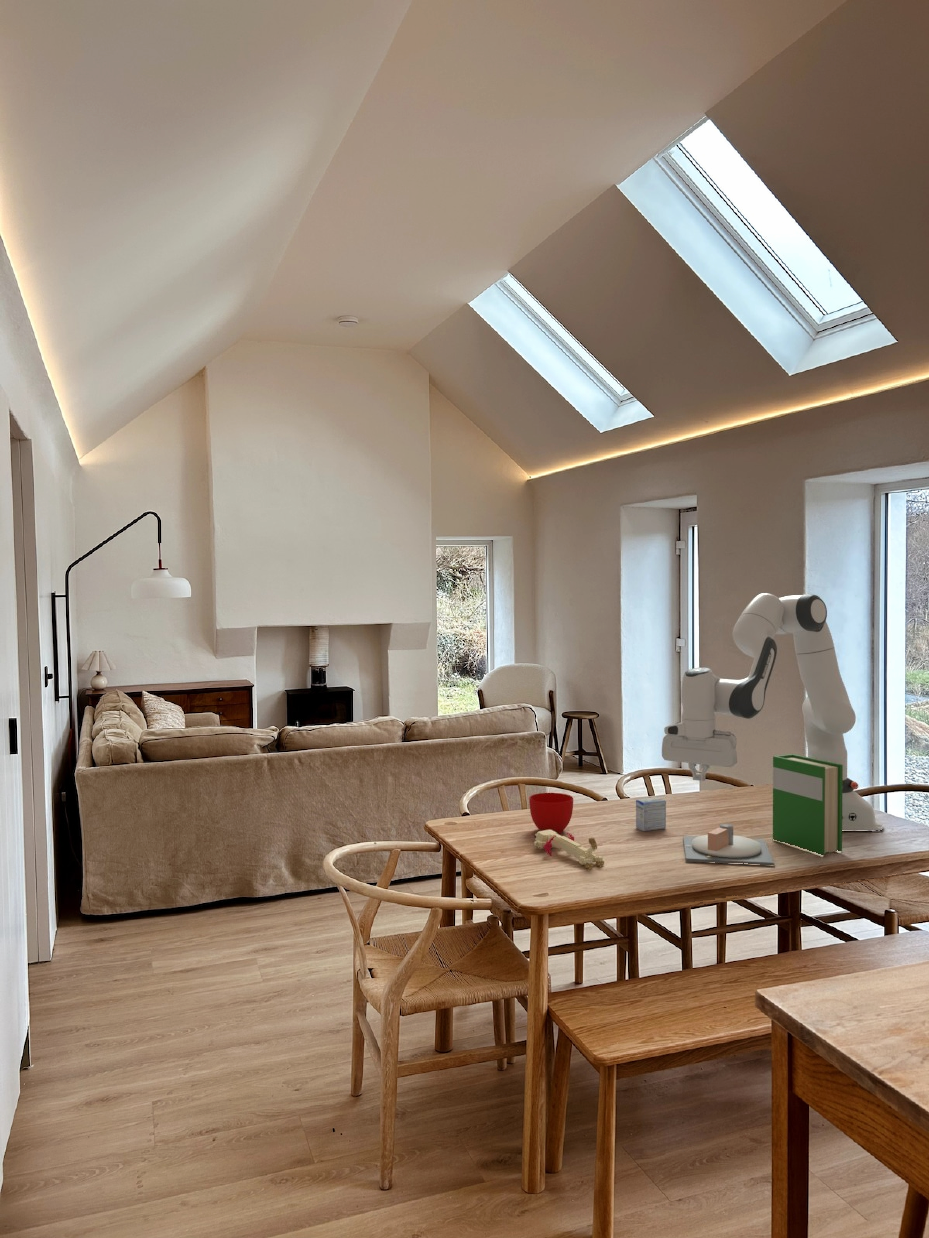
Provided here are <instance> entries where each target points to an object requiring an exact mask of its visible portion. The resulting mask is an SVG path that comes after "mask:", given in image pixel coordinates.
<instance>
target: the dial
mask: <svg viewBox="0 0 929 1238" xmlns="http://www.w3.org/2000/svg"><path fill="white" fill-rule="evenodd" d="M753 839H754V838H748V837H745V836H741V835H734V825H733V824H729V823H721V824H719V826H718V827H717V828H715V829H713V830H711V831H709V832H707V834H704V835H700V836H699V837H696V838H694V839H693V840H692V847H693V848H694V849H695V850H696V851H698V852H701V853H704V854H707V855H712V856H718V857H728V858H742V857H750V856H755V855H757V854H759V853H760V852H761V844H760V843H759V842H757V841H755V840H753Z"/></svg>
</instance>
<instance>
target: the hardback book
mask: <svg viewBox="0 0 929 1238" xmlns="http://www.w3.org/2000/svg"><path fill="white" fill-rule="evenodd" d="M842 784H843V765H841V764H837V763H832V762H828V761H823V760H818V759H814V758H809V757H808V756H803V755H799V754H793V753H790V754H782V755H774V756H772V840H773V839H774V840H777V841H780V842H785V843H788V844H790V845H795V846H798V847H800V848H803V849H807V850H809V851H812V852H816V853H818V854H821V855H824V856H825V854H827V853H826V852H829V853H835V852H834V851H837V850H838V851H842V852H843V832H842Z"/></svg>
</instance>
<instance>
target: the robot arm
mask: <svg viewBox="0 0 929 1238" xmlns="http://www.w3.org/2000/svg"><path fill="white" fill-rule="evenodd" d="M827 616H828V609H827V605H826V603H825V602H824V600H823V599H822V598H821V597H820V596H819V595H816V594H813V593H811V594H810V593H809V594H808V593H804V594H797V595H796V594H795V595H786V596H783V597H778V596H776V595H775V594H773V593H768V592H765V593H764V592H763V593H760V594H758V595H756V596H754V598H752V600H751V601H750V602H749V603H748V604H747V606H746V607H745V608H744V610H742V612H741V614H740V615H739V617H738V619H737V621H736V623H735V624H734V626H733V629H732V633H731V634H732V640H733V642H734V644H735V645H736V647H737V648H738V650H740V651H741V652H742V653H743V654H744V655H746V656H748V657H751V658H753V661H752V665H751V668H750V670H749V674H748V676H747V677H745V678H742V679H731V678H730V679H729V678H728V679H727V678H721V677H720V676H717V675H716V674H714V673H713V670H712V669H711V668H709V667H694V668H690V669H687V670H686V671H685V672H684V674H683V676H682V681H681V691H680V692H681V699H680V700H681V705H682V713H681V721H679V722H676V723H673V724H669V725H667V726H665V727H664V730H663V732H664V734H665V735H664V736H663V739H662V742H661V744H662V745H661V756H662V758H663V760H664V761H668V762H678V763H687V764H688V769H689V771H690V772H691V774H692V781H699V782H704V781H706V775H707V772H708V771H709V769H710V766H713V767H723V768H733V767H735V766H736V765H737V764H738V755H737V737H736V735H735V734H734V733H732V732H731V731H726V730H725V731H722V730H717V729H716V728H717V727H716V726H717V725H716V714H718V715H726V716H735V717H737V718H742V719H748V720H749V719H753V718H754V717H756V716H757V715H758V714H759V713H760V712H761V711H762V710H763V707H764V705H765V698H766V691H767V688H768V685H769V682H770V678H771V676H772V672H773V669H774V665H775V663H776V659H777V655H778V646H777V643H776V641H775V640H774V638H775V636H776V635H793V637H792V638H793V644H794V651H795V657H796V661H797V667H798V672H799V675H800V680H801V682H802V684H803V687H804V688H805V692H806V694H807V697H806V698H805V699H804V700H803V703H802V705H801V712H802V716H803V723H804V731H805V733H804V734H805V738H806V747H807V757H809V758H814V759H818V760H823V761H828V762H832V763H837V764H841V765H843V784H842V830H881V829H883V830H884V825H883V823H882V821H880V820H879V819H877V818H876V815H875V811H874V808H873V806H872V805H871V803H870V802H868V801H867V800H866V799H865V798H864V797H862V796H861V795H859V793H857V792H856V791H855V790H858V788H859V784H858V782H856V781H854V780H852V779H851V778H849V777H848V750H847V747H846V743H845V738H844V734H846V733H848V732H850V731H851V730H852V729H853V727H854V726H855V724H856V719H857V717H856V713H855V710H854V709H853V708H854V707H852V706H853V705H852V704H851V701H850V697H849V695H848V691H847V688H846V687H845V683H844V682H843V679H842V676H841V671H840V669H839V664H838V658H837V654H836V649H835V644H834V639H833V636H832V633H831V630H830V628H829V625H828V623H827ZM697 765H701V767H700V768H701V769H702V771H701V772H698V769H696V767H697Z"/></svg>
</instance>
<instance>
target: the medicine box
mask: <svg viewBox="0 0 929 1238" xmlns="http://www.w3.org/2000/svg"><path fill="white" fill-rule="evenodd" d="M635 828H636V829H638V830H640V831H641V832H650V831H656V830H664V829H666V828H667V800H666V799H663V798H661V797H658V796H657V797H648V798H641V799H636V800H635Z"/></svg>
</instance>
